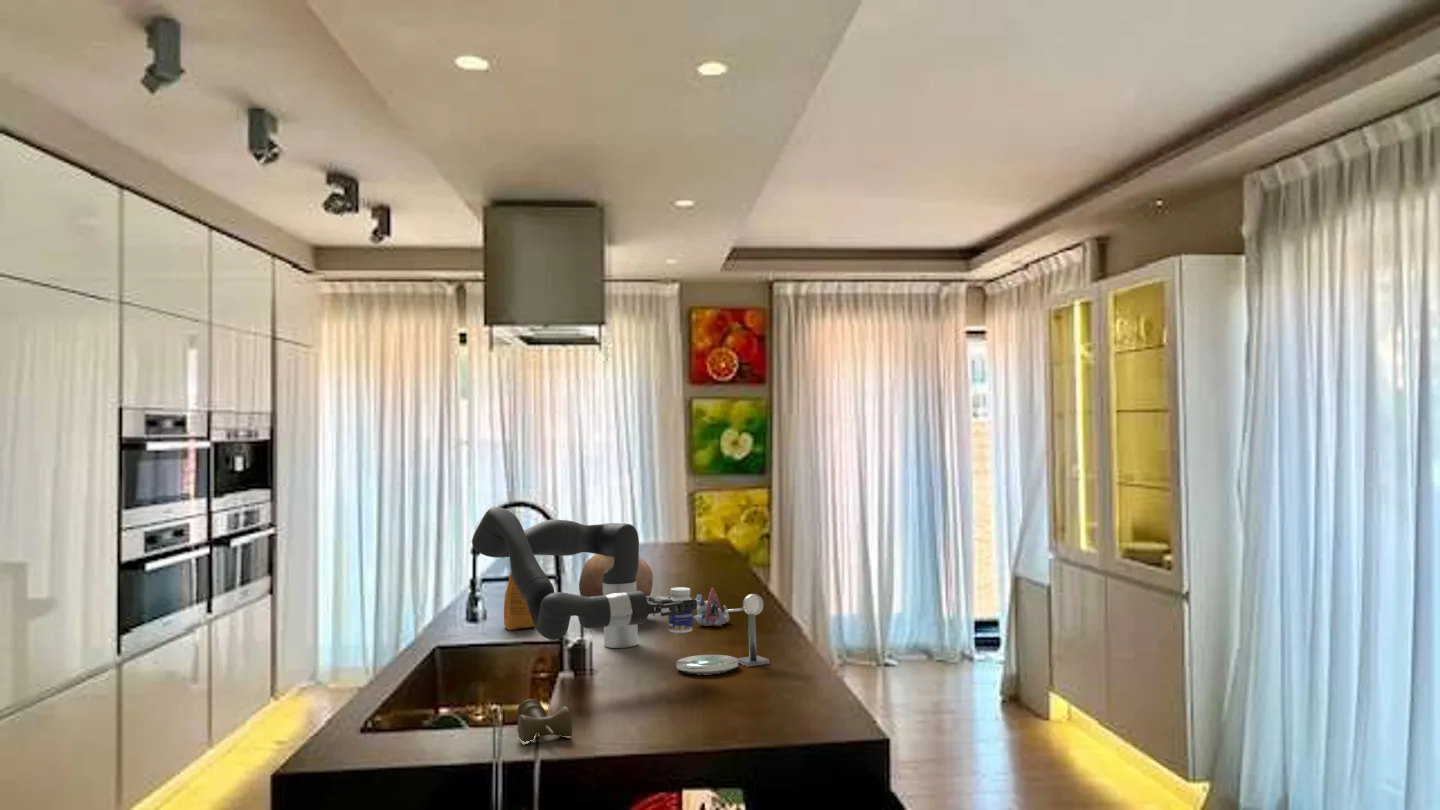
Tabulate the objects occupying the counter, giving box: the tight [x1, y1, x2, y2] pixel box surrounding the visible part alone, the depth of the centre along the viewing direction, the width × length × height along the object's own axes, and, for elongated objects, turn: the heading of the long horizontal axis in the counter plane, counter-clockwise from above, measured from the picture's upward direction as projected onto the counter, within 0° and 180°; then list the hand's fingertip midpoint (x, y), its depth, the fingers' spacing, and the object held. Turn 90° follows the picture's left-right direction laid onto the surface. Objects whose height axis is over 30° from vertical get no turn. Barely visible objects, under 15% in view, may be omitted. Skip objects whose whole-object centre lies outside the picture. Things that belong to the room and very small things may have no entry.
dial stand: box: [725, 593, 771, 668], centre depth 245 cm, size 6×10×17 cm, turn 117°
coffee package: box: [503, 572, 535, 631], centre depth 305 cm, size 10×12×22 cm
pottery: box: [578, 554, 654, 597], centre depth 310 cm, size 23×23×25 cm
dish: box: [675, 654, 739, 675], centre depth 240 cm, size 15×15×2 cm
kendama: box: [516, 698, 573, 742], centre depth 190 cm, size 6×10×20 cm
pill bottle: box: [668, 586, 694, 634], centre depth 234 cm, size 6×6×10 cm
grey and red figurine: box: [693, 587, 730, 626], centre depth 300 cm, size 11×11×12 cm
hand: (690, 602), depth 236 cm, fingers closed on pill bottle, 5 cm apart
